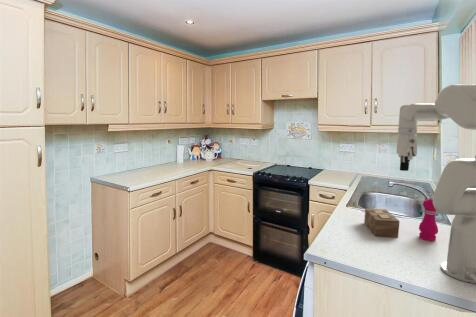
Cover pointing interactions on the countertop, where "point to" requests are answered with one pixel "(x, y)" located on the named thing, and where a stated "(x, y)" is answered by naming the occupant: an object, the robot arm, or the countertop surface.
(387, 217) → the peg
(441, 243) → the countertop surface
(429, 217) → the pepper mill
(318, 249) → the countertop surface
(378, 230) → the socket block
